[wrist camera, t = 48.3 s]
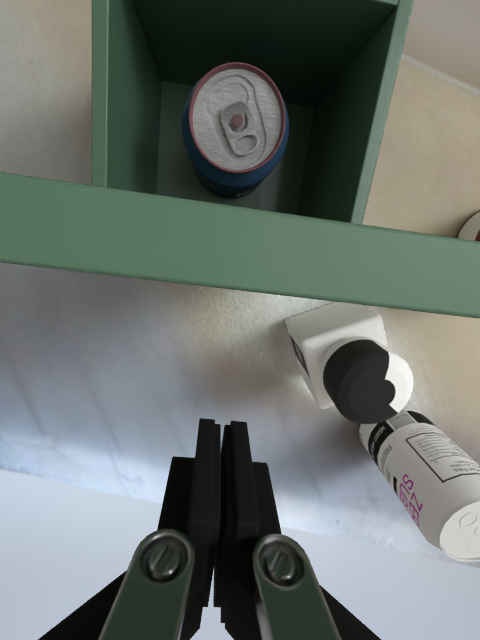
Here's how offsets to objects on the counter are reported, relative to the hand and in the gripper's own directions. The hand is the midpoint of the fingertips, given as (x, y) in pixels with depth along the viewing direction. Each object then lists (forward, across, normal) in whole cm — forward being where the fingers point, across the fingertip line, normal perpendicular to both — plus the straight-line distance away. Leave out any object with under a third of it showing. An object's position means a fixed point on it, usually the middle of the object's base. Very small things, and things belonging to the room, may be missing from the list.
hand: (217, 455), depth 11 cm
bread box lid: (+2, 0, -7) cm, 7 cm away
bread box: (+24, 0, -13) cm, 28 cm away
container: (+25, -13, +3) cm, 28 cm away
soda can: (+24, +1, -14) cm, 28 cm away
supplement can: (+25, -24, +14) cm, 37 cm away
